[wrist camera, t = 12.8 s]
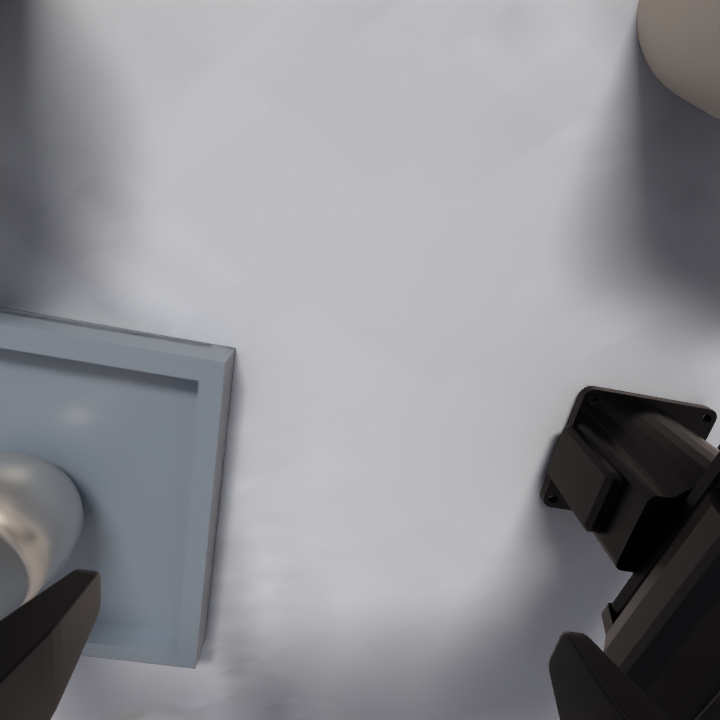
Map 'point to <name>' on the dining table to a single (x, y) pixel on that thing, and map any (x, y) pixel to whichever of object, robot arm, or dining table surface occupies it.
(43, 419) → the blue-gray tray
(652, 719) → the robot arm
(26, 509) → the plastic bottle
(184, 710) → the dining table surface
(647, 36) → the beige lumpy box
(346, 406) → the dining table surface
